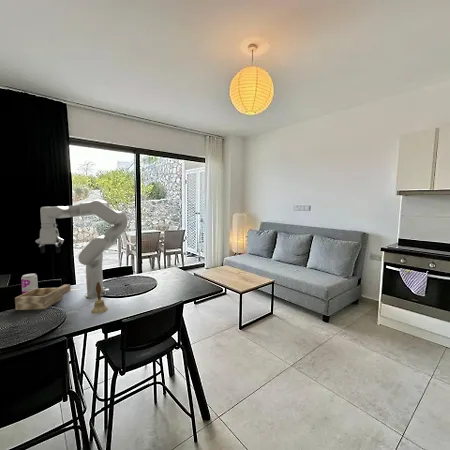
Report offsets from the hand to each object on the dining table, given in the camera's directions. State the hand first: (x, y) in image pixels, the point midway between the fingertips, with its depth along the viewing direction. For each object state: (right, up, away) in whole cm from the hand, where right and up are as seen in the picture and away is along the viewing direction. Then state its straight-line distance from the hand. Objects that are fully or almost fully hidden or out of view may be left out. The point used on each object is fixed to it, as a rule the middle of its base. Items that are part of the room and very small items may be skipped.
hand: (50, 252), depth 161 cm
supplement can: (-14, -30, +2) cm, 33 cm away
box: (+3, -30, -12) cm, 32 cm away
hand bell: (+42, -30, -21) cm, 56 cm away
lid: (+3, -29, +9) cm, 31 cm away
